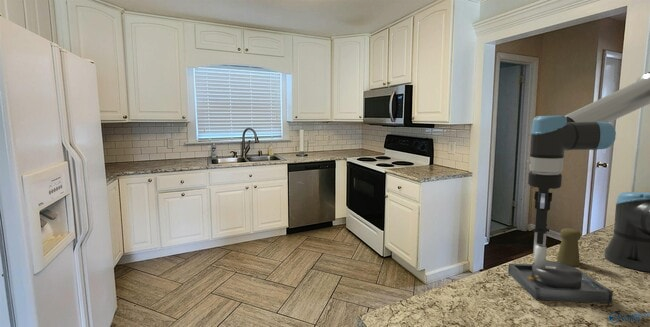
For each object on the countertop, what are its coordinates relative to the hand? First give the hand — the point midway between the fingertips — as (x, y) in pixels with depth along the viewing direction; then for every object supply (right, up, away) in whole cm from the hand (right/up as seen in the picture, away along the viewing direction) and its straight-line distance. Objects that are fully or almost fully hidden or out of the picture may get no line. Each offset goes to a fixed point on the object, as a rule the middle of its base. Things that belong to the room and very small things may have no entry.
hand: (538, 253), depth 89 cm
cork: (+19, -7, +13) cm, 24 cm away
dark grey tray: (+3, -9, -2) cm, 9 cm away
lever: (+3, -6, -2) cm, 8 cm away
